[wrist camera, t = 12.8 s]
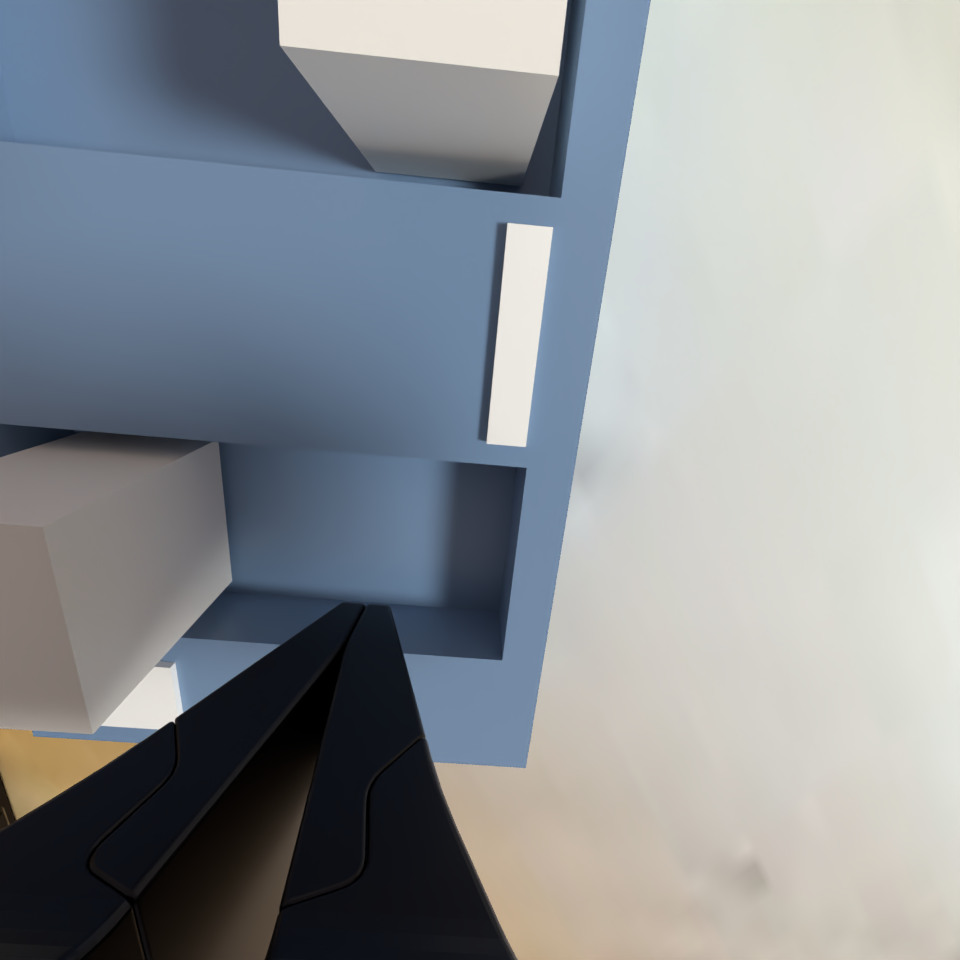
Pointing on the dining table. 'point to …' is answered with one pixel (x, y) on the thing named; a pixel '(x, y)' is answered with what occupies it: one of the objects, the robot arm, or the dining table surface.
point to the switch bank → (313, 335)
